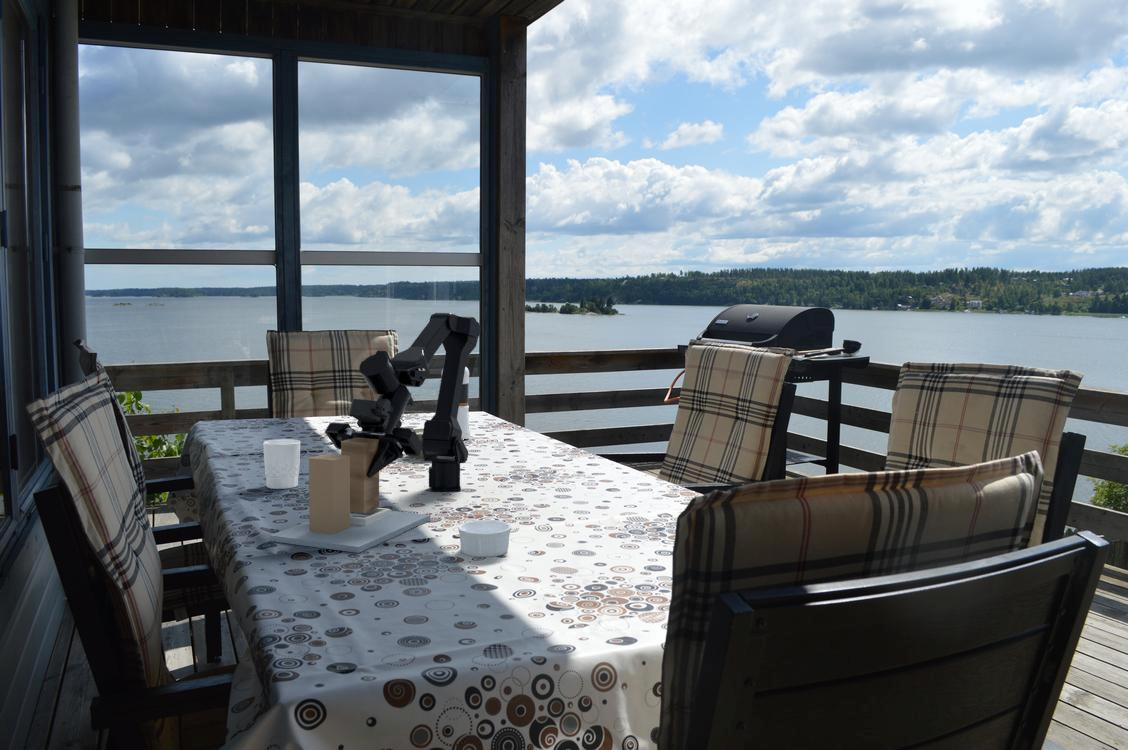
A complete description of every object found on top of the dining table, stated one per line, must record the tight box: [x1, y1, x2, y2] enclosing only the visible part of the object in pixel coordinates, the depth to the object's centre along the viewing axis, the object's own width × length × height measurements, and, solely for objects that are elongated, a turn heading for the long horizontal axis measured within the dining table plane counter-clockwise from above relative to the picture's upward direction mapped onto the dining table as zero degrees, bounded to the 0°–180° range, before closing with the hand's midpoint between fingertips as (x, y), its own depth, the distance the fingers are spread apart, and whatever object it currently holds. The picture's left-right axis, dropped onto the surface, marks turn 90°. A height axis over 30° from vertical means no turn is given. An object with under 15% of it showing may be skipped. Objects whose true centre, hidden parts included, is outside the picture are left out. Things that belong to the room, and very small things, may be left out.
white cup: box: [262, 438, 301, 490], centre depth 196 cm, size 8×8×10 cm
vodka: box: [440, 366, 471, 441], centre depth 267 cm, size 9×9×30 cm
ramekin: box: [457, 519, 512, 558], centre depth 148 cm, size 9×9×4 cm
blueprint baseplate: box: [269, 453, 431, 554], centre depth 159 cm, size 24×18×14 cm
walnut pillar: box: [340, 437, 380, 513], centre depth 164 cm, size 5×5×13 cm
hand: (356, 475), depth 163 cm, fingers closed on walnut pillar, 5 cm apart
